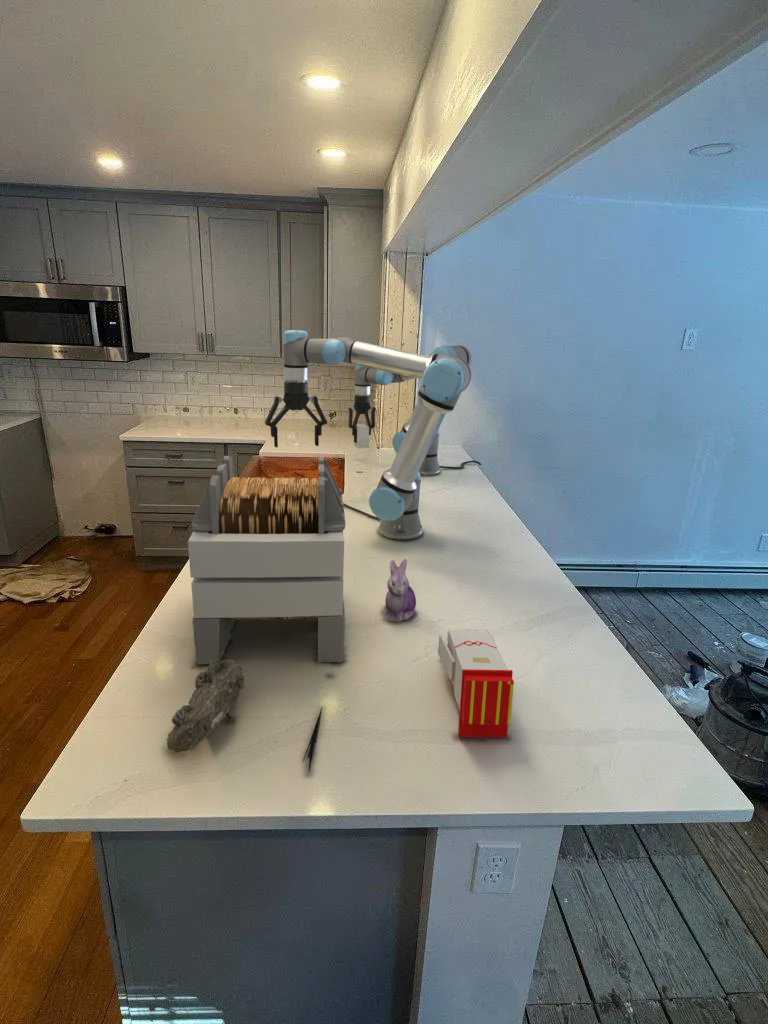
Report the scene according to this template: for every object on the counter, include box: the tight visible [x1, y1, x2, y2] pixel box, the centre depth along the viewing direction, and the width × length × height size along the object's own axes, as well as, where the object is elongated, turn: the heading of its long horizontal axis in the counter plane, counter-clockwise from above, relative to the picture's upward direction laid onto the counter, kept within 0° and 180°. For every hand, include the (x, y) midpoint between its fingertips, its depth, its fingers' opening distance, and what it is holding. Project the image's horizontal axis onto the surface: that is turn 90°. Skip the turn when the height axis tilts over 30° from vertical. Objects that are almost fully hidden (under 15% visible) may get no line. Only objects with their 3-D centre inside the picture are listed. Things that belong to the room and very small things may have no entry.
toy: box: [437, 628, 515, 738], centre depth 117 cm, size 12×13×30 cm
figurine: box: [384, 558, 417, 623], centre depth 145 cm, size 9×10×15 cm
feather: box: [301, 673, 332, 771], centre depth 108 cm, size 2×28×2 cm
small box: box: [353, 423, 370, 449], centre depth 281 cm, size 8×6×10 cm
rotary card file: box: [187, 455, 346, 666], centre depth 133 cm, size 34×33×41 cm
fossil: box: [166, 658, 245, 754], centre depth 106 cm, size 22×10×15 cm
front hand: (296, 445), depth 189 cm, fingers open, 13 cm apart
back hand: (361, 441), depth 282 cm, fingers closed on small box, 6 cm apart
